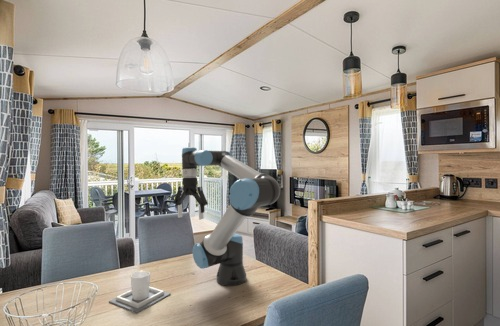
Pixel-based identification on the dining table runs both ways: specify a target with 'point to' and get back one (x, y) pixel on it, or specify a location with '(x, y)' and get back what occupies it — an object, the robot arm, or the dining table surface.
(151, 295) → the holder
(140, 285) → the white cup
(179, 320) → the dining table surface
